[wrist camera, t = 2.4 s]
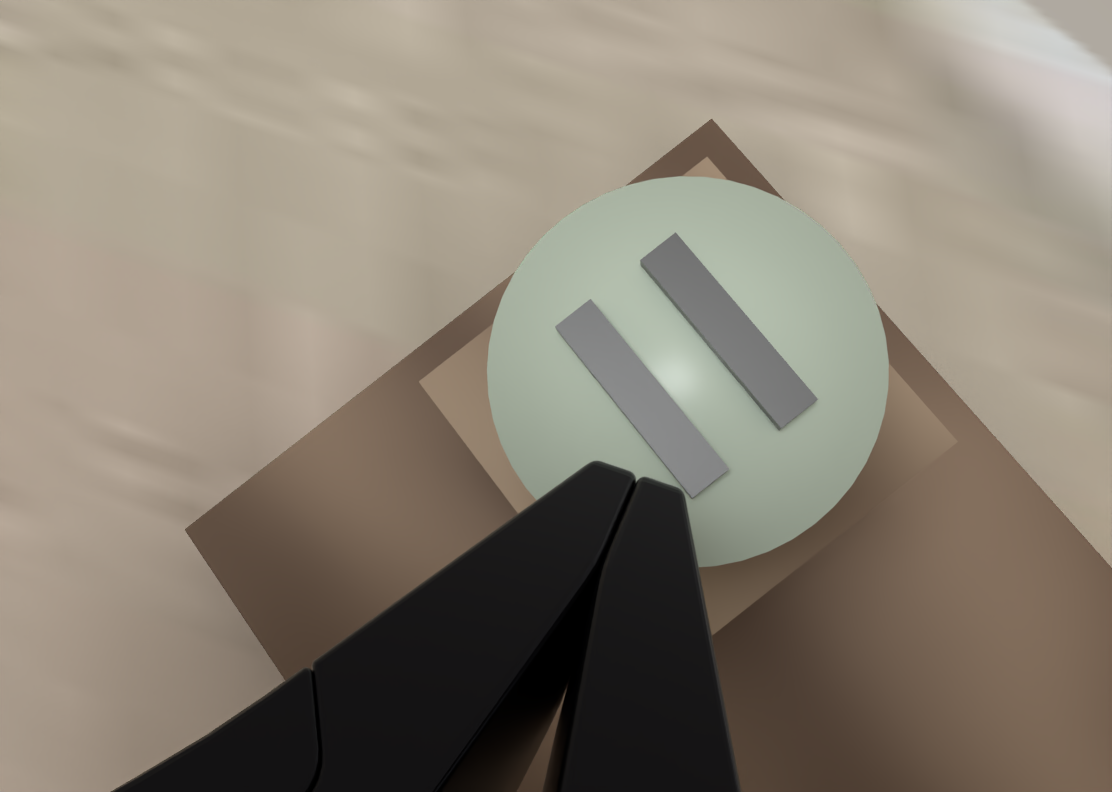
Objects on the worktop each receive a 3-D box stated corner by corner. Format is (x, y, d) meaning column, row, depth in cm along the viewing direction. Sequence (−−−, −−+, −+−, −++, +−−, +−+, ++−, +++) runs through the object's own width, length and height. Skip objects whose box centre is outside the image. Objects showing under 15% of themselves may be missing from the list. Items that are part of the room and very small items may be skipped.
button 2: (653, 639, 12) (650, 655, 10) (442, 363, 13) (406, 332, 11) (935, 417, 12) (983, 394, 10) (706, 157, 13) (713, 94, 11)
